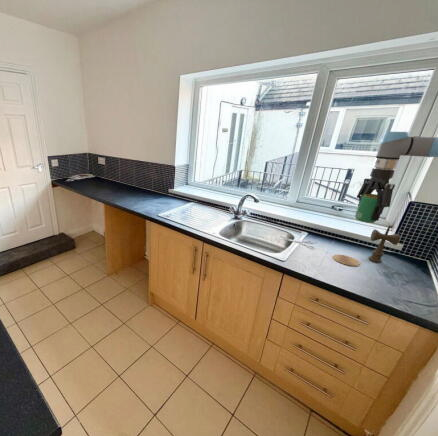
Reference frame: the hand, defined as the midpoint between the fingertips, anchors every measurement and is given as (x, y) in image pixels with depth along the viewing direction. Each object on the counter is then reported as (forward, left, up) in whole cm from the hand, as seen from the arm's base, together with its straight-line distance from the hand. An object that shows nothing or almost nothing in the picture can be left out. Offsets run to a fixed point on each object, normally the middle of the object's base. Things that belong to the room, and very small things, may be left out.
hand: (366, 216), depth 115 cm
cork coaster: (+1, -2, -25) cm, 25 cm away
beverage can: (0, 0, -2) cm, 2 cm away
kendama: (-14, -3, -25) cm, 29 cm away
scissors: (+16, -21, -25) cm, 36 cm away
